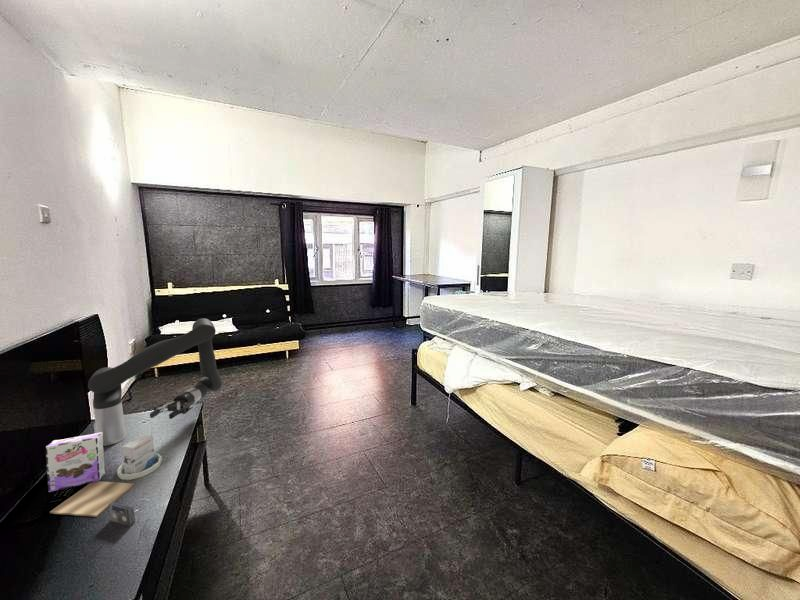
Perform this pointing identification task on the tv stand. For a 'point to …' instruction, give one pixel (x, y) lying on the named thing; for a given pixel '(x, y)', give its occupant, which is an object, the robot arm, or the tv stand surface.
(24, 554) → the tv stand surface
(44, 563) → the tv stand surface
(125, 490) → the wooden board
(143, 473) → the ceramic dish
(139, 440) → the ink box
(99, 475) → the candy box
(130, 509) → the mini dv tape
